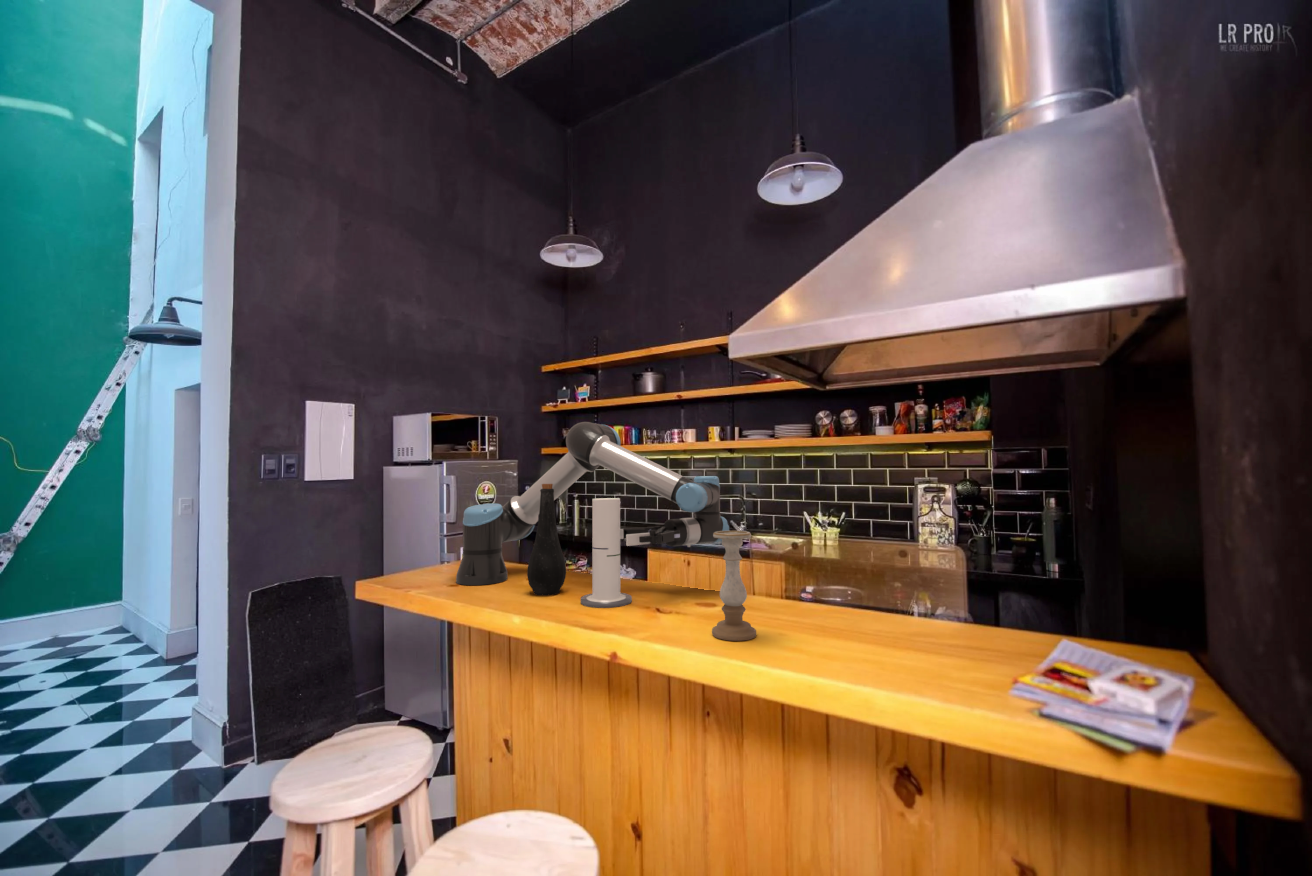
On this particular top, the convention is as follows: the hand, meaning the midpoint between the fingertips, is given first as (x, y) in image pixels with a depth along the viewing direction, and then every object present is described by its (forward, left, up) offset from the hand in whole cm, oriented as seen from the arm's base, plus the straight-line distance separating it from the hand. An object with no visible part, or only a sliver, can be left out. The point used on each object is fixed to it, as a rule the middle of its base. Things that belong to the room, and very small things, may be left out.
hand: (613, 537), depth 136 cm
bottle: (-20, -10, -16) cm, 28 cm away
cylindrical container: (-1, -2, -15) cm, 15 cm away
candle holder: (+39, +6, -16) cm, 43 cm away
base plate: (-1, -2, -16) cm, 16 cm away
